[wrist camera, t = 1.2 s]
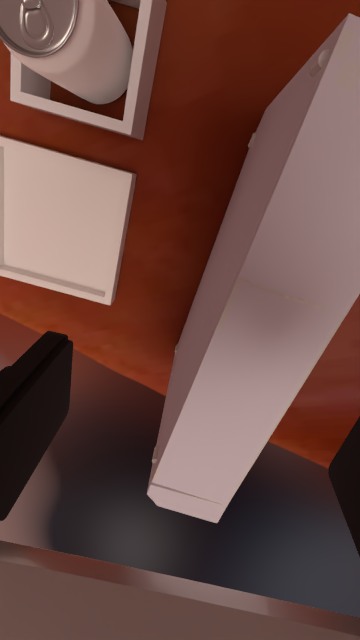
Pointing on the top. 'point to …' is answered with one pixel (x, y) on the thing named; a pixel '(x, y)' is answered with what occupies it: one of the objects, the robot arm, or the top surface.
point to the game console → (267, 285)
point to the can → (70, 44)
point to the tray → (62, 220)
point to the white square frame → (151, 16)
